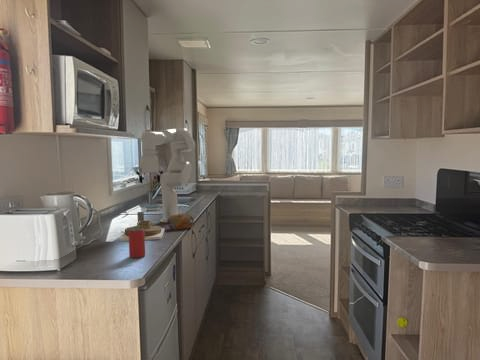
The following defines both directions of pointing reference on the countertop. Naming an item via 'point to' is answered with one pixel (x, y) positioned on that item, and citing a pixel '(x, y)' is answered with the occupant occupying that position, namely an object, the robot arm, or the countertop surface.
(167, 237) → the countertop surface
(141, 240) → the beer can
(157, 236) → the dial base
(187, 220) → the tin
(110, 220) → the countertop surface
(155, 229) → the dial
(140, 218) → the grey rounded cylinder
